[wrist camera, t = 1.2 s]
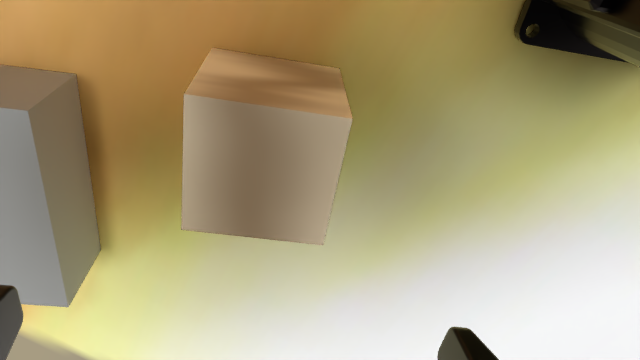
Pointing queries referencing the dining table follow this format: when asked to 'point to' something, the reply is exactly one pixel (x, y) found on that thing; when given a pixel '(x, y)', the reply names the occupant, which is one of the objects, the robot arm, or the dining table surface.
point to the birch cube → (262, 147)
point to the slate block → (44, 187)
